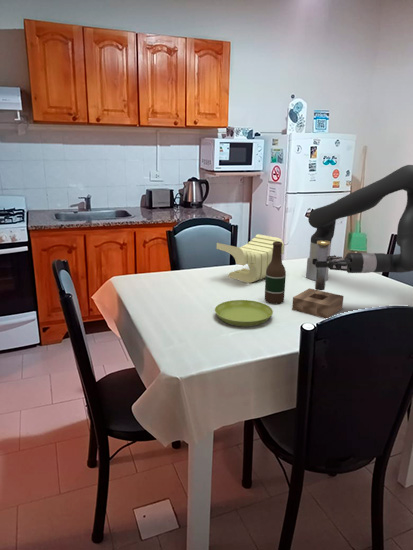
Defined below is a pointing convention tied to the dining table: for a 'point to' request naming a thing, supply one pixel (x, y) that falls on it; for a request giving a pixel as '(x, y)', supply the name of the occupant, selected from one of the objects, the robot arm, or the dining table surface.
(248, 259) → the slatted curved stool
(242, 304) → the saucer
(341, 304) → the block
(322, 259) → the steel pin
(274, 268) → the beer bottle
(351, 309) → the dining table surface
